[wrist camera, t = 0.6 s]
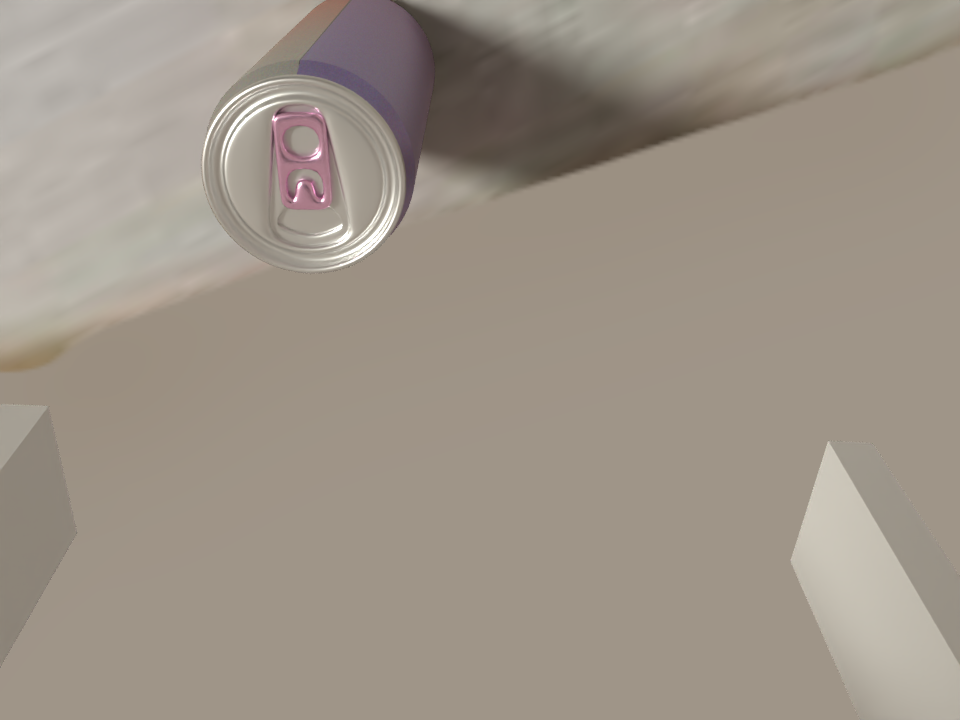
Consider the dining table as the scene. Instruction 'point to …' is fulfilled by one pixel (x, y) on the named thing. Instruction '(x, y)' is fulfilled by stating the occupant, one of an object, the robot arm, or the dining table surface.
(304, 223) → the beverage can
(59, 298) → the dining table surface
